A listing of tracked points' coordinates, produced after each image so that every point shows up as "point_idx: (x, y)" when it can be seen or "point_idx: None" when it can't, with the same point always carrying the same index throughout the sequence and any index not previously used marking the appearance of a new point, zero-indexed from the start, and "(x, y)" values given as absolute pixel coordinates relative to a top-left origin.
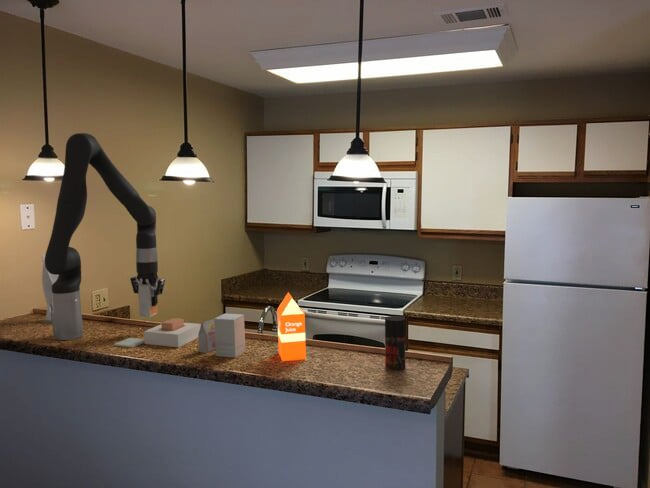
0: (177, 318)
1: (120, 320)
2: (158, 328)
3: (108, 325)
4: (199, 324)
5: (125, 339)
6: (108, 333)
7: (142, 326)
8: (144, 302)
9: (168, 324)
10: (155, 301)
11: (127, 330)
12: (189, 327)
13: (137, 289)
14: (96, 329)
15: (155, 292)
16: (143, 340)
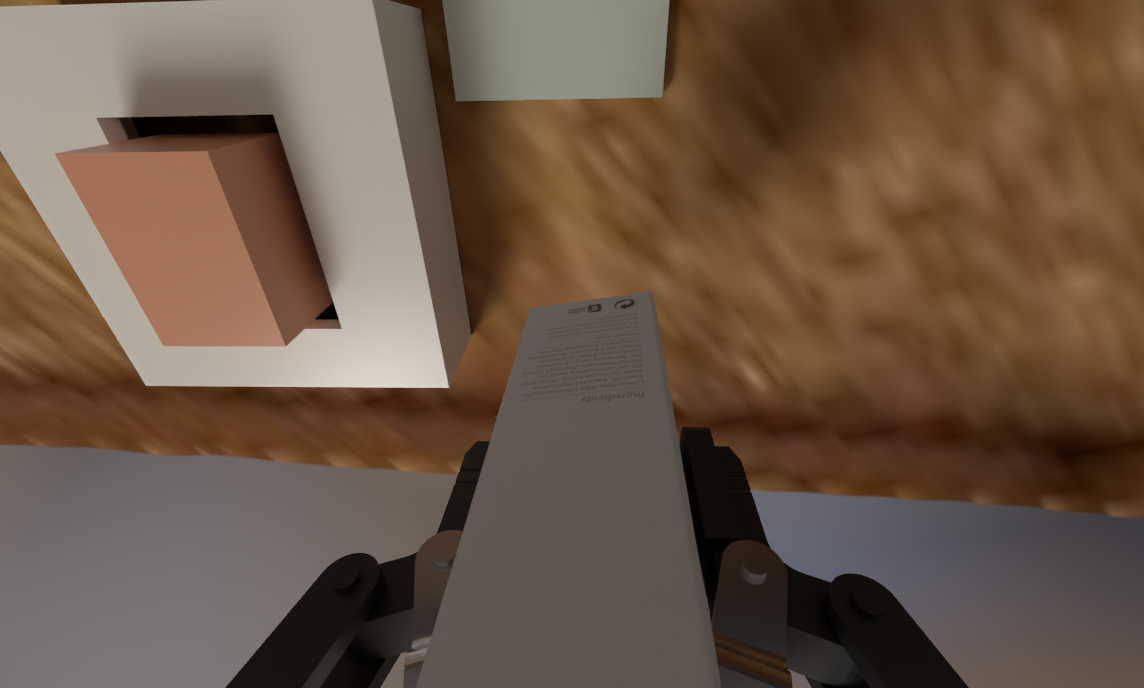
0: (229, 345)
1: (1001, 480)
2: (327, 164)
3: (1054, 376)
4: (140, 373)
5: (664, 26)
6: (964, 197)
7: (765, 412)
8: (571, 407)
9: (123, 151)
10: (456, 479)
11: (829, 310)
12: (111, 280)
13: (850, 672)
14: (1132, 266)
15: (396, 611)
16: (469, 57)
